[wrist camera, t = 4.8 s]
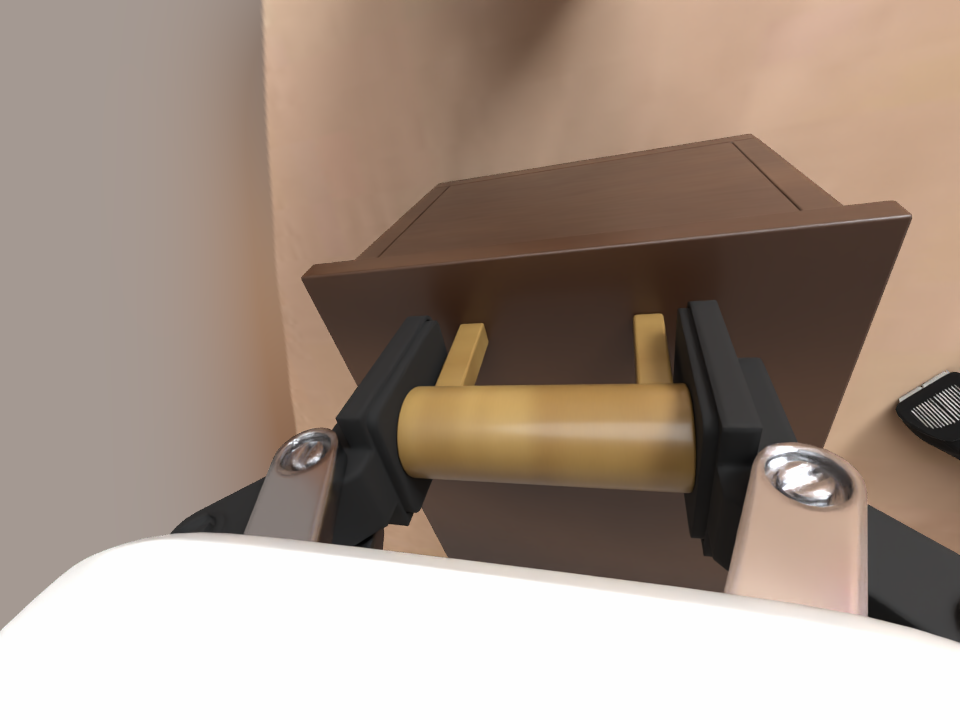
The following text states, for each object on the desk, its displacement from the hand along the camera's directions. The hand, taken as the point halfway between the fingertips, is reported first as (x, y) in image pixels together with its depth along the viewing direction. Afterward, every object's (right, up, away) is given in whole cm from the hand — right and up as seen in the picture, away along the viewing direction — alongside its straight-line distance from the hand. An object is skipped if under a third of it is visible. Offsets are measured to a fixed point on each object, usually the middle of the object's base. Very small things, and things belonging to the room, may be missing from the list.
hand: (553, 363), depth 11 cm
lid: (+2, -4, +5) cm, 7 cm away
